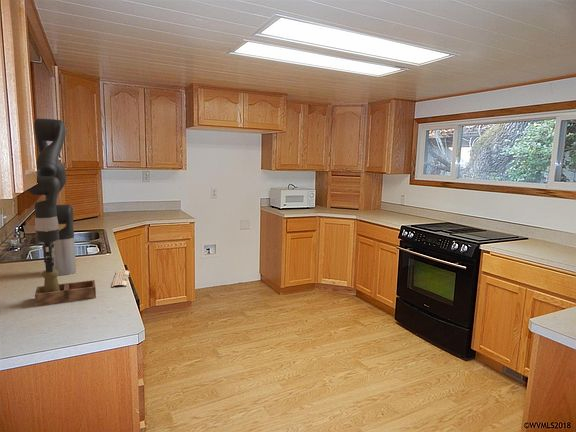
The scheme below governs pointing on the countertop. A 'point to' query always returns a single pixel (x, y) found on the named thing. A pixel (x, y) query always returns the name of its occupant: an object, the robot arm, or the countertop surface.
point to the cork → (51, 281)
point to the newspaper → (121, 278)
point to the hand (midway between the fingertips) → (50, 269)
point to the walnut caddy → (66, 293)
